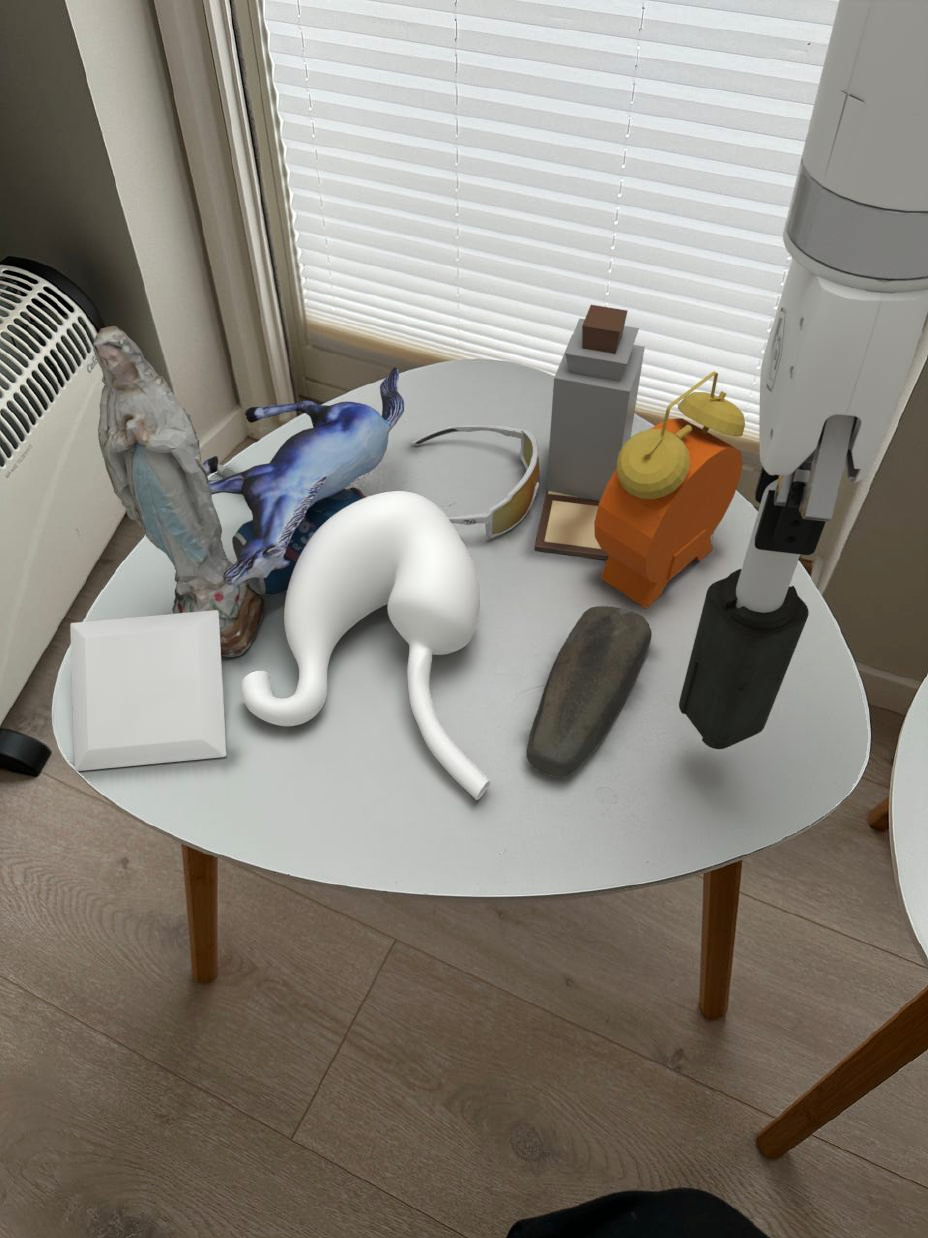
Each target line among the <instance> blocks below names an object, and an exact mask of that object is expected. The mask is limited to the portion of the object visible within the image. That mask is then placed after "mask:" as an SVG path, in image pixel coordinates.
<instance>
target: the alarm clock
mask: <svg viewBox="0 0 928 1238" xmlns="http://www.w3.org/2000/svg"><path fill="white" fill-rule="evenodd" d="M712 377H713V380H712V386H711V391H710V392H706V391H705V392H704V391H695V390H697V389H698V388H700V387H701V386H702V385H704V383H706V382H707V381H708V380H710V379H711V378H712ZM718 377H719V373H718V372H717V371H715V370H713V371H712V372H711V373H709V374H708V375H707V376H706V377H704V378H703V379H702V380H700V381H699V382H697V383H696V384H695V385H693V386H692V387H690V388H689V389H688V390H687V391H685V392H684V393H683V394H681V395H680V396H679V397H677V398H676V399H675V400H673V401H672V402H670V403H669V404H668V405H667V407H666V409H665V413H664V419H663V420H662V421H661V422H659V423H658V424H655V425H654V426H652V427H651V428H649V429H645V430H641V431H639V432H637V433H636V434H634V435H631V438H630V439H629V440H628V441H627V442H626V443H625V444H624V445H623V447H622V449H621V451H620V452H619V456H618V460H617V469H616V470H615V472H614V474H613V475H612V477H611V479H610V480H609V482H608V484H607V486H606V489H605V491H604V493H603V495H602V498H601V500H600V502H599V505H598V510H597V514H596V518H595V522H594V530H595V538H596V540H597V542H598V544H599V546H600V547H601V549H602V550H603V551H605V552H606V553H608V554H609V557H608V560H606V562H605V564H604V568H603V570H602V572H601V574H600V576H599V578H600V579H601V580H602V581H604V582H606V583H607V584H608V585H610V586H611V587H613V588H614V589H616V590H617V591H618V592H619V593H621V594H623V595H624V596H626V597H628V598H629V599H630V600H631V601H633V602H635V603H636V604H638V605H639V606H640V607H642V608H644V609H645V610H647V609H648V608H649V607H650V606H651V605H652V604H653V603H655V602H656V601H657V600H658V599H659V598H660V597H661V596H662V594H663V591H664V590H665V588H666V586H667V584H668V582H669V581H670V580H672V579H673V578H674V577H675V576H676V575H677V574H679V572H681V571H682V570H684V568H686V566H688V565H689V564H690V563H691V562H692V561H694V560H695V561H697V562H699V563H700V562H701V561H702V560H703V559H704V558H705V557H706V556H708V555H709V554H710V553H711V552H712V551H713V544H712V543H713V542H712V539H711V537H712V536H713V534H714V532H715V531H716V530H717V528H718V527H719V525H720V523H721V522H722V520H723V519H724V517H725V515H726V513H727V511H728V509H729V507H730V505H731V503H732V501H733V499H734V496H735V494H736V491H737V488H738V486H739V484H740V481H741V477H742V470H743V465H744V461H743V453H742V451H740V450H739V449H738V448H737V447H736V446H734V445H731V444H730V443H727V442H726V441H724V440H723V439H722V438H721V439H720V438H719V437H717V436H715V435H714V434H711V433H710V432H709V430H713V431H715V432H718V433H720V434H724V435H726V436H731V437H736V438H737V437H738V438H741V437H742V436H743V434H744V432H745V431H744V430H745V427H746V421H745V420H746V419H745V414H744V413H743V412H742V410H740V409H739V407H737V405H735V404H734V403H733V402H731V401H729V400H728V399H725V398H726V396H727V392H725V391H720V392H719V395H717V394H716V387H717V382H718ZM678 403H679V404H678ZM677 404H678V405H677ZM675 405H677V409H678V411H679V412H680V413H682V414H683V415H684V416H685V417H687V418H688V419H690V420H692V421H693V422H696V423H698V424H699V425H701V426H702V428H701V427H699V426H697V425H696V424H693V423H691V421H688V420H686V419H685V418H682V417H676V418H669V416H670V411H671V409H672V408H673V407H674V406H675Z"/></svg>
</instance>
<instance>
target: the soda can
mask: <svg viewBox="0 0 928 1238" xmlns="http://www.w3.org/2000/svg"><path fill="white" fill-rule="evenodd" d="M366 497H367V496H366V495H365V494H364V493H363V492H362V491H361V490H360V489H359V488H357V487H355V486H352V487H349V488H344V489H343V490H341V491H339V492H337V493H335V494H333V495H331V496H329V497H327V498H324V499H321V500H319V501H317V502H315V503H314V504H313V505H312V506H311V507H309V508H308V509H307V511H306V513H305V516H304V518H303V519H302V520H301V522H300V523H299V525H298V526H297V528H296V529H295V531H294V532H293V534H292V536H291V539H290V541H289V543H288V545H287V548H286V551H285V554H284V560H287V561H290V563H289V565H288V566H286V567H285V568H282V569H274V570H272V571H271V572H270V573H269V575H268V576H267V577H266V578H256V577H255V578H249V579H247V580H246V581H247V583H248V584H249V586H250V587H251V589H253V590H254V591H255V592H256V593H258V594H260V595H264V596H265V595H266V596H278V595H280V594H282V593H285V592H287V590H288V586H289V582H290V579H291V576H292V573H293V570H294V568H295V565H296V563H297V561H298V559H299V557H300V555H301V553H302V551H303V549H304V548H305V546H306V544H307V543H308V541H309V540H310V539H311V537H312V536H313V535H314V533H315V532H316V531H317V530H318V529H319V528H320V527H321V526H322V525H323V524H324V523H325V522H326V521H327V520H328V519H329V518H331V517H332V516H333V515H335V514H336V513H337V512H339V511H340V510H342V509H344V508H345V507H347V506H349V505H351V504H352V503H354V502H357V501H359V500H361V499H363V498H366ZM252 537H253V526H252V519H251V520H249V521H246V522H244V523H243V524H242V525H241V526H240V527H239V528H238V530H237V531H236V532H235V534H234V535H233V536H232V537H231V538H232V539H231V541H232V543H231V544H232V549H233V552H234V555H235V558H236V560H237V559H238V557H239V553H240V550H241V548H242V547H243V545H244V544H245V543H246V542H247V541H248V540H250V539H252Z"/></svg>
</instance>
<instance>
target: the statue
mask: <svg viewBox="0 0 928 1238" xmlns="http://www.w3.org/2000/svg"><path fill="white" fill-rule="evenodd" d="M92 347H93V350H92V351H93V354H94V356H95V358H96V360H97V363H98V365H99V367H100V370H101V372H102V379H101V382H102V383H103V387H102V389H101V397H100V402H99V419H98V420H99V421H98V426H97V436H98V438H97V439H98V443H99V448H100V451H101V455H102V458H103V459H104V460H103V461H104V465H105V469H106V472H107V475H108V477H109V480H110V483H111V486H112V489H113V492H114V494H115V496H116V497H117V498H118V499H119V500H120V502H121V505H122V506H123V507H124V508H125V511H126V515H127V517H128V518H129V519H130V520H131V521H133V520H134V521H136V523H137V524H138V525H139V527H140V528H141V529H142V530H143V532H144V534H145V537H146V539H148V541H149V542H150V543H151V544H153V546H155V548H157V549H159V550H160V551H161V552H163V553H164V554H166V556H167V557H168V559H169V560H170V562H171V563H172V565H173V567H174V570H175V573H174V581H175V582H176V584H175V589H174V600H173V606H172V610H171V611H172V614H178V613H189V612H201V611H212V610H217V611H218V612H219V629H220V648H221V657H225V658H236V657H240V656H242V655H243V654H245V652H246V651H247V650H248V649H249V647H250V646H251V645H252V643H253V641H254V639H255V636H256V633H257V631H258V630H259V627H260V624H261V621H262V619H263V618H264V617H263V616H264V613H265V612H264V611H265V606H266V604H265V603H266V602H265V599H263V598H262V597H261V594H258V593H256V592H255V591H254V590H253V589H252V587H251V586H250V584H249V583H248V584H247V583H246V582H245V581H246V580H245V581H243V582H242V583H240V584H238V585H228V584H226V583H225V581H224V579H223V575H224V573H225V571H226V570H228V569H229V568H231V567H232V566H233V565H234V563H233V562H232V561H230V559H228V556H227V554H226V551H225V549H224V543H223V541H222V534H223V527H222V524H221V520H220V517H219V515H218V511H217V509H216V507H215V504H214V502H213V501H214V500H213V496H212V495H211V489H210V485H209V478H208V475H207V474H206V471H205V469H204V467H203V465H202V464H203V462H202V455H201V448H200V440H199V438H198V437H197V431H196V429H195V427H194V424H193V421H192V420H191V414H190V413H188V412H187V410H186V409H185V408H184V406H183V405H182V404H181V402H180V401H179V400H178V398H177V396H176V395H175V394H174V393H173V392H172V390H171V388H170V385H169V384H168V382H167V381H166V380H165V379H164V376H161V375H159V373H157V372H156V370H155V368H154V367H153V366H152V364H151V363H150V362H149V361H148V360H147V358H146V357H145V354H143V352H142V350H141V349H140V347H139V346H138V345H137V343H135V341H133V339H131V338H130V337H129V336H128V335H127V333H126V332H125V331H123V330H122V329H120V328H119V327H118V326H117V325H110V326H106V327H103V328H100V329H99V332H98V333H97V334H96V335H95V337H94V341H93V346H92Z"/></svg>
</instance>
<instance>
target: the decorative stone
mask: <svg viewBox="0 0 928 1238" xmlns="http://www.w3.org/2000/svg"><path fill="white" fill-rule="evenodd" d="M652 632H653V631H652V629H651V625H650V623H649V622H648V621H647V619H646V618H645V617H644V616H643V615H641V614H639V613H637V612H635V611H633V610H630V609H626V608H623V607H616V606H607V605H600V606H599V605H597V606H592V607H589V608H588V609H586V610H585V611H584V612H583V613H582V614H581V616H580V617H579V619H578V620H577V622H576V623H575V624H574V626H573V627H572V629H571V631H570V633H569V635H567V638H566V639H565V641H564V642H563V644H562V646H561V648H560V649H559V651H558V653H557V656H556V658H555V660H554V662H553V665H552V667H551V670H550V672H549V675H548V677H547V680H546V683H545V686H544V689H543V692H542V694H541V698H540V701H539V704H538V705H539V706H538V709H537V711H536V714H535V716H534V720H533V721H532V725H531V728H530V732H529V737H528V741H527V746H526V752H525V753H526V757H527V760H528V763H529V764H530V765H531V766H532V768H533V769H534V770H536V771H537V772H538V773H540V774H544V775H546V776H550V777H554V778H566V777H569V776H571V775H573V774H574V773H575V772H576V771H577V770H578V769H579V768H580V767H581V766H582V765H583V764H585V762H586V761H587V760H588V759H589V758H590V757H591V755H593V753H594V752H595V750H597V748H598V747H599V746H600V744H601V743H602V742H603V740H604V738H605V737H606V735H607V734H608V733H609V731H610V729H611V728H612V726H613V724H614V723H615V720H616V719H617V717H618V716H619V714H620V712H621V710H622V708H623V706H624V705H625V702H626V701H627V698H628V696H629V695H630V692H631V690H632V688H633V686H634V683H635V682H636V680H637V678H638V675H639V672H640V670H641V668H642V666H643V664H644V661H645V658H646V655H647V652H648V650H649V647H650V644H651V641H652V636H653V634H652Z"/></svg>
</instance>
